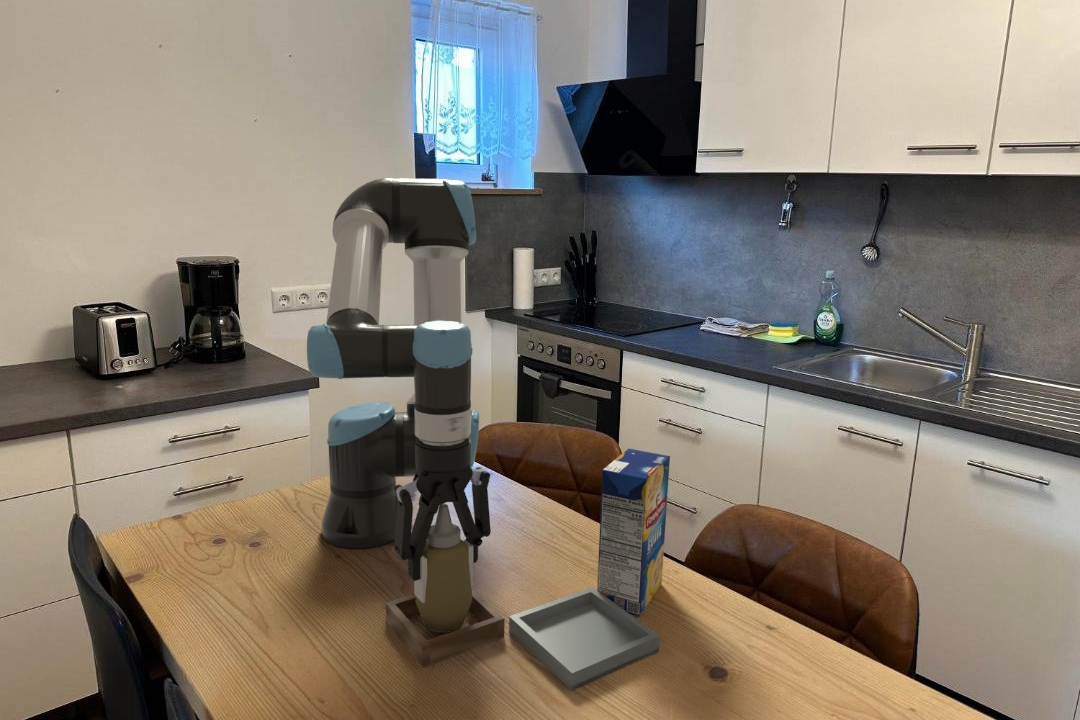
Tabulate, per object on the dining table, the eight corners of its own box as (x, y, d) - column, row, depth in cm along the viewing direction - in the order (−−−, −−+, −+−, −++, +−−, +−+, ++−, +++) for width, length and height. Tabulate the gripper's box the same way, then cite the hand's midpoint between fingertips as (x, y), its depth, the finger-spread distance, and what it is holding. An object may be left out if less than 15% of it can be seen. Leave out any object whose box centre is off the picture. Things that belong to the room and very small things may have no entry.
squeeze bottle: (462, 642, 101) (462, 521, 97) (407, 634, 102) (404, 515, 98) (479, 610, 109) (479, 497, 104) (427, 602, 110) (426, 491, 106)
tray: (508, 631, 105) (509, 616, 104) (591, 601, 113) (592, 587, 113) (571, 690, 93) (572, 673, 92) (658, 651, 101) (659, 635, 101)
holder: (386, 621, 107) (385, 602, 106) (462, 597, 114) (462, 579, 113) (423, 667, 97) (423, 647, 96) (504, 637, 104) (504, 618, 103)
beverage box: (596, 605, 112) (602, 470, 108) (622, 573, 122) (628, 448, 117) (638, 617, 109) (646, 479, 105) (661, 584, 119) (670, 455, 114)
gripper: (386, 459, 91) (390, 625, 96) (518, 433, 101) (515, 583, 107) (363, 441, 97) (368, 598, 102) (491, 418, 107) (489, 561, 113)
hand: (444, 590), depth 104 cm, fingers closed on squeeze bottle, 6 cm apart
